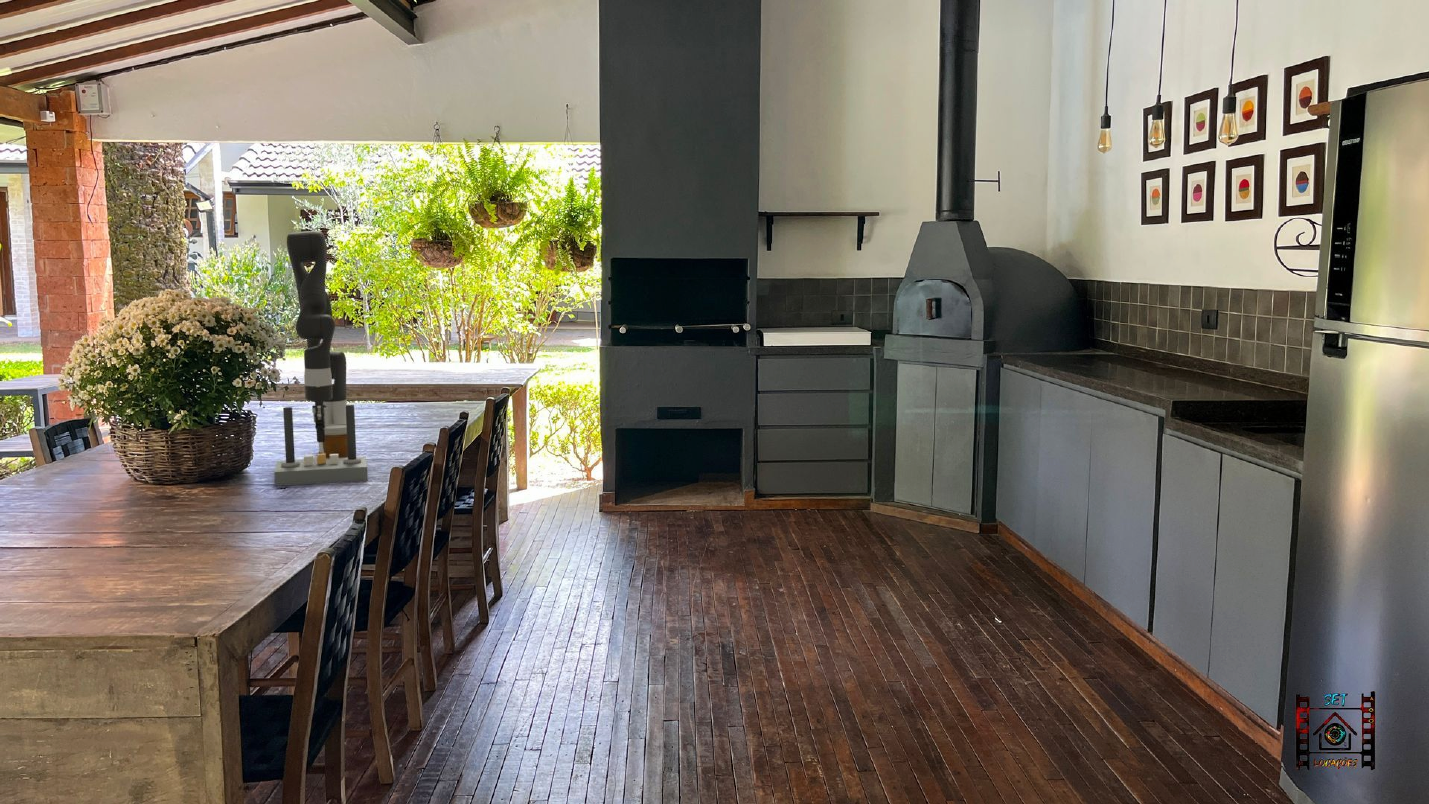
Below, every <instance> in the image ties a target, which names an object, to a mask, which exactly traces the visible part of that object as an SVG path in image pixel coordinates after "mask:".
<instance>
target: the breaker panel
mask: <svg viewBox="0 0 1429 804" xmlns="http://www.w3.org/2000/svg"><path fill="white" fill-rule="evenodd" d="M358 457H359V458H361V462H360V463H357V464H345V463H343V459H345V458H339V457H338V454H330V458H327V459H326V463H323V464H317V458H314V454H310V455H308V454H307V455H304V456H303V459H295V461H300V466H297V467H281V462H284V461H285V460H277V461H276V465H275V468H274V472H273V474H274V475H273V476H274V487H278V486H279V487H281V486H294V485H295V486H296V485H310V484H311V485H313V484H329V483H345V482H362V481H365V482H366V481H368V462H367V456H358ZM346 458H348V457H346Z"/></svg>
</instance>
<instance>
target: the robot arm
mask: <svg viewBox="0 0 1429 804" xmlns="http://www.w3.org/2000/svg"><path fill="white" fill-rule="evenodd" d="M286 247H287V252H288V257H289V260H290V264H291V267H292V272H293V276H294V280H295V285H296V290H297V291H296V292H297V296H298V302H299V304H298V305H299V309H300V310H299V314H298V316H297V321H296V323H295V331H296V332H295V333H296V334H297V336H298V337H299V338H300V339H302V340H306V345H307V346H306V347H307V348H305V349H304V350H303V357H304V359H303V360H304V361H303V363H304V374H303V379H304V399H305V400H306V401H308V402H309V401H310V402H314V405H312V407H311V410H312V411H311V412H312V415H313V422H314V423H315V425H314V427H315V430H316V443H318V452H319V454H324V449H323V443H322V442H325V425H328V424H346V405H348V404H347V403H348V402H347V357H346V354H345V353H344V352H343V351H341V350H331V346H332V340H333V337H334V333H335V329H336V322H335V320H334V317H333V308H332V303H331V298H330V296H329V294H328V292H327V291H326V276H327V264H328V263H327V262H328V249H327V248H328V247H327V241H326V237H325V234H324V233H323V232H322V231H320V230H310V231H307V230H306V231H295V232H290V233H288V234H287V237H286ZM313 262H314V264H313V266H312V268H311V269H310V270H309V272H308V270H307V268H306V267H305V264H304V263H313ZM321 340H322V341H321Z"/></svg>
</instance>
